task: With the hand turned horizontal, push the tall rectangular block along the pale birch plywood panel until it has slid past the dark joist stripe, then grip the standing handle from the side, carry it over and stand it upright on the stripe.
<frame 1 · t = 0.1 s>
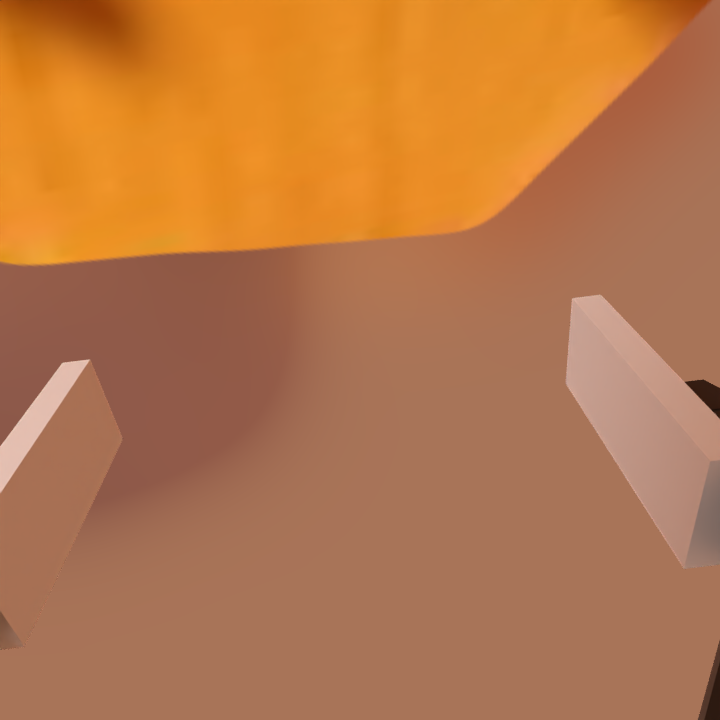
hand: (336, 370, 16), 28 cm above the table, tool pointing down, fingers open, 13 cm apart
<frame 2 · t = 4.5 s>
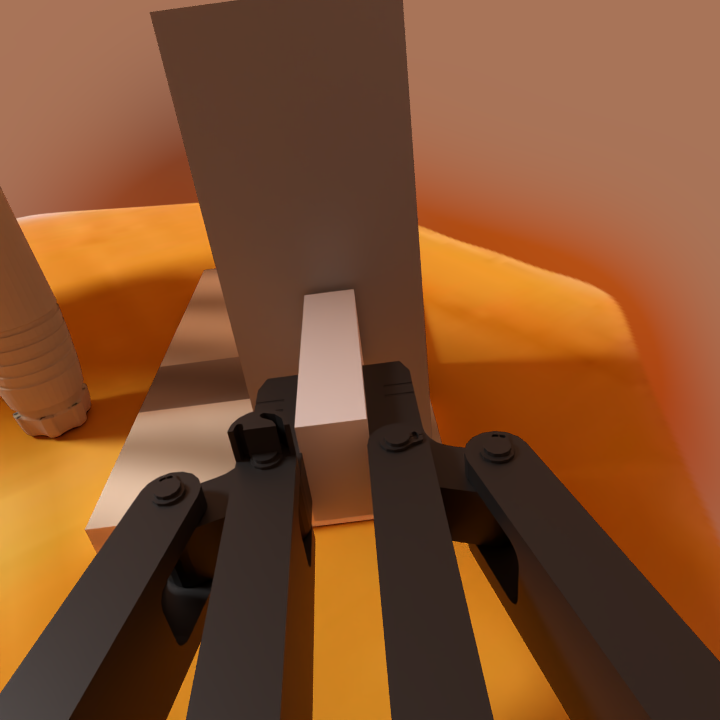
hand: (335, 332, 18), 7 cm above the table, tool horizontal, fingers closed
tall rectangular block: (348, 402, 26), point 1 cm above the table, touching gripper
handle: (62, 424, 29), on the table
subfloor panel: (290, 360, 32), on the table
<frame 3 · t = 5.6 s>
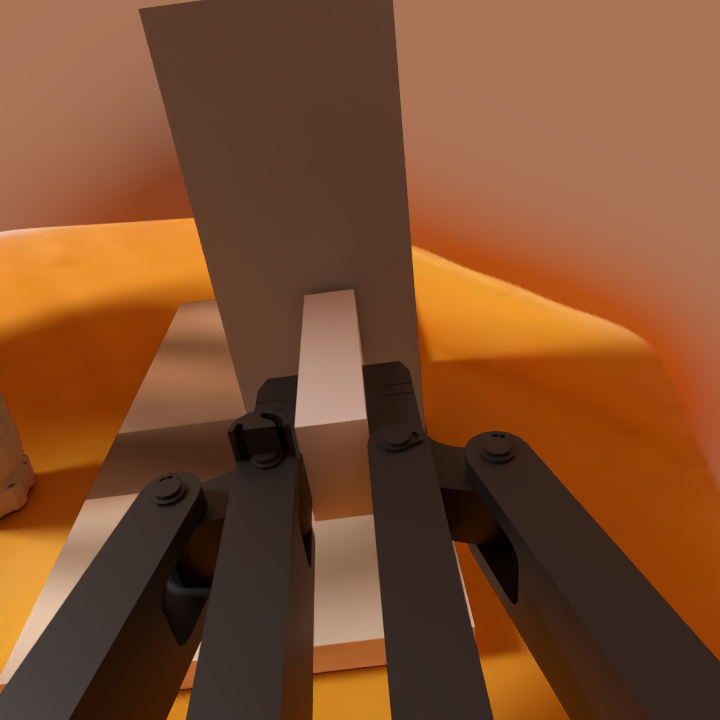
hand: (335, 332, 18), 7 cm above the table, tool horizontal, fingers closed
tall rectangular block: (342, 401, 25), point 1 cm above the table, touching gripper
subfloor panel: (274, 422, 27), on the table
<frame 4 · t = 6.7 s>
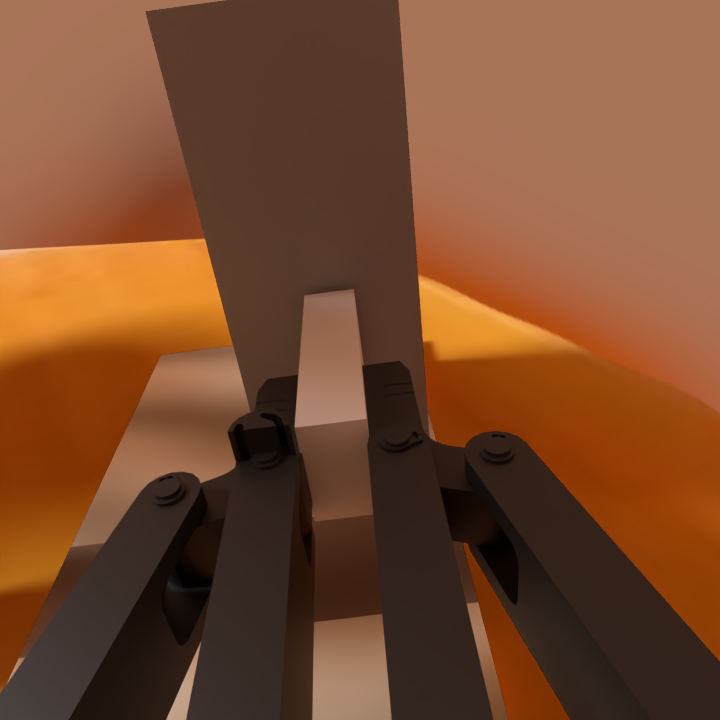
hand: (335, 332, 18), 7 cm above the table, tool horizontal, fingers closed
tall rectangular block: (346, 401, 26), point 1 cm above the table, touching subfloor panel
subfloor panel: (269, 526, 21), on the table
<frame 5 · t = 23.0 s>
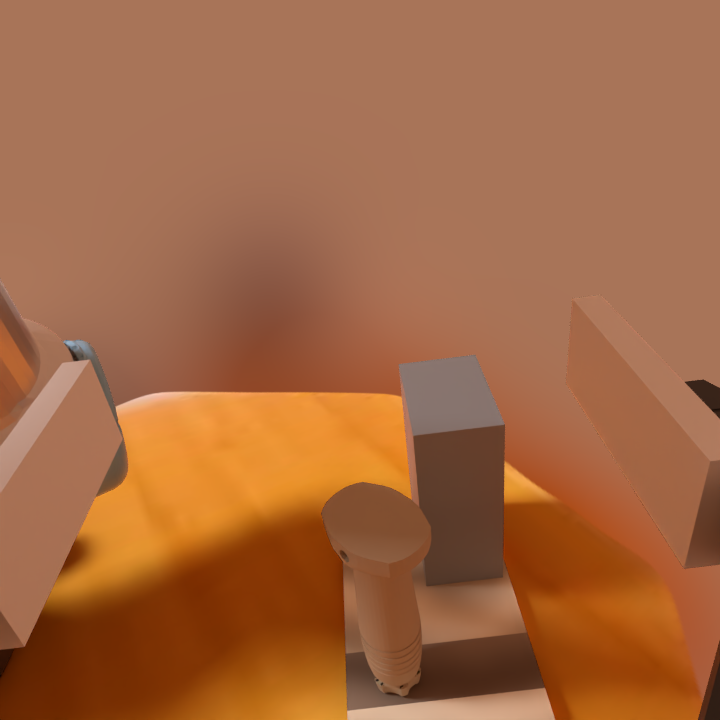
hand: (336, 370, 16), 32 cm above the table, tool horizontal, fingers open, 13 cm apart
tall rectangular block: (454, 537, 50), point 1 cm above the table, touching subfloor panel
handle: (397, 677, 41), point 1 cm above the table, touching subfloor panel
subfloor panel: (434, 640, 44), on the table
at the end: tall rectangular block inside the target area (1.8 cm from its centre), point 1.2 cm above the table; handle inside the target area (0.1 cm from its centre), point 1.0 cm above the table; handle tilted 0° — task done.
